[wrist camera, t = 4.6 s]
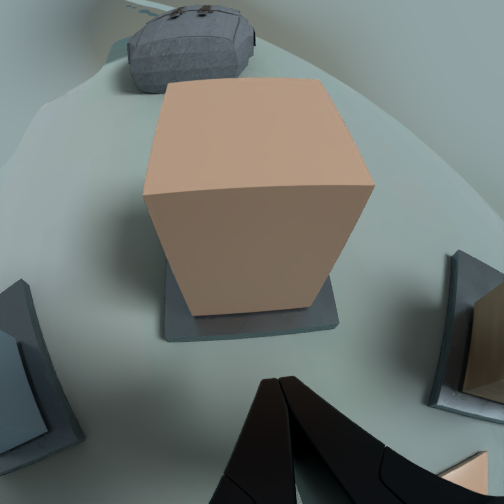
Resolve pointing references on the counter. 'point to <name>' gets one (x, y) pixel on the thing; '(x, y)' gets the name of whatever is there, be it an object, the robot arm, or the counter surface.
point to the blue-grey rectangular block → (16, 399)
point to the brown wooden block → (487, 348)
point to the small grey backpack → (190, 47)
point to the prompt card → (470, 473)
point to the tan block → (253, 191)
